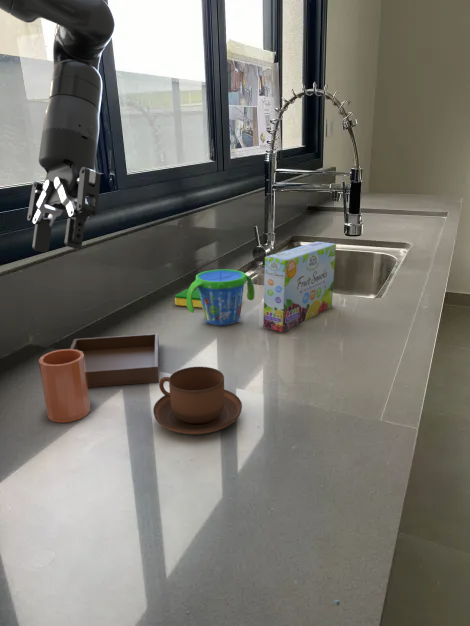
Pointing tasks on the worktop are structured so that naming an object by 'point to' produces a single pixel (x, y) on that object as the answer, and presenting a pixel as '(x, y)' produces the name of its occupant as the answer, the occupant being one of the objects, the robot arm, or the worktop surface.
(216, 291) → the snack cup
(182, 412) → the cup and saucer
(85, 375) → the tumbler
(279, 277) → the snack box
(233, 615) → the worktop surface
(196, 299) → the dish sponge
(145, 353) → the tray
